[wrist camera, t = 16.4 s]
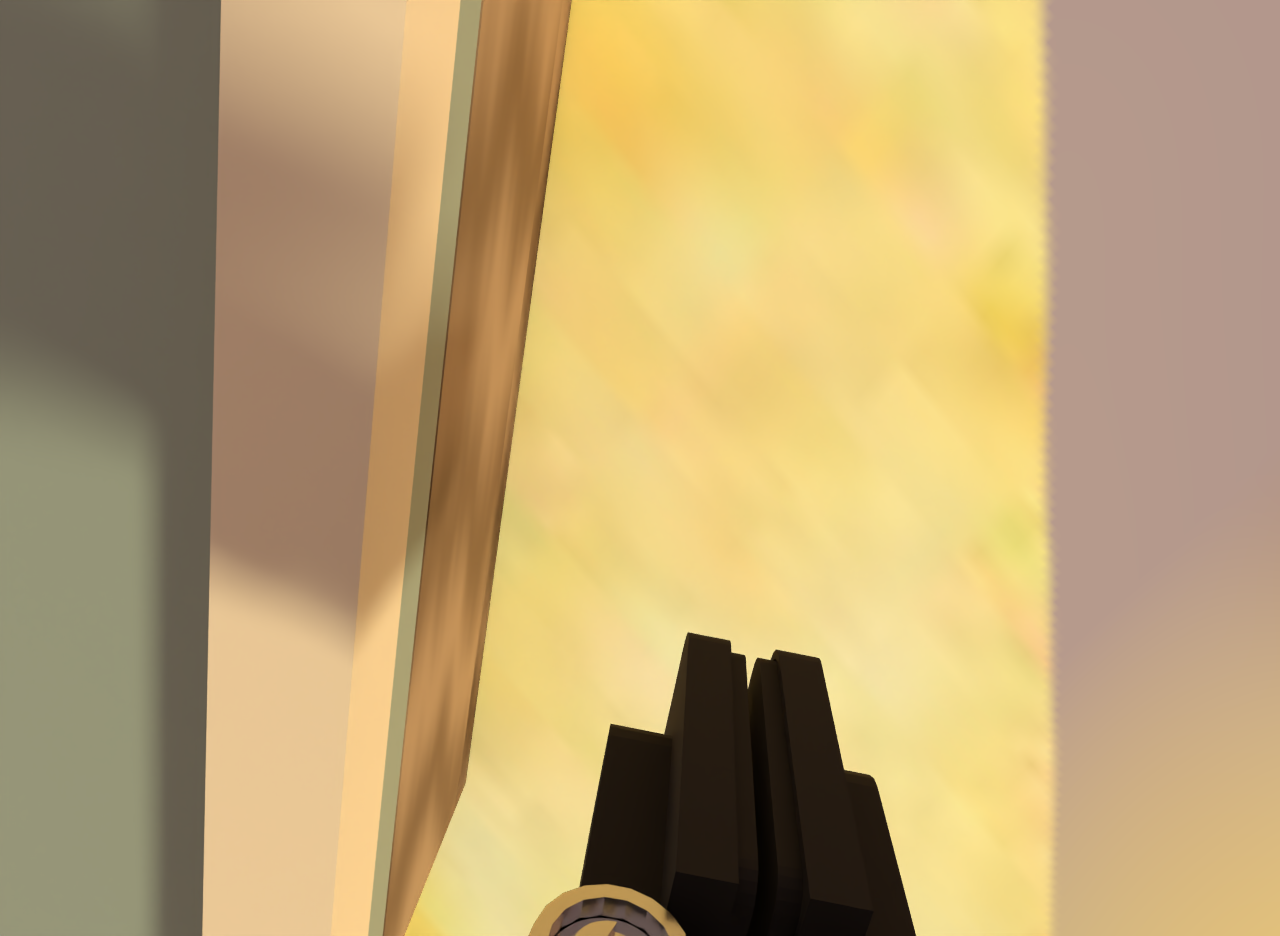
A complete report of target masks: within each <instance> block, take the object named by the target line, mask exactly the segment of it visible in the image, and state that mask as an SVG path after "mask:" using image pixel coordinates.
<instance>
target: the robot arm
mask: <svg viewBox="0 0 1280 936" xmlns="http://www.w3.org/2000/svg"><path fill="white" fill-rule="evenodd" d="M529 936H916V934H915V930H914V926H913V922H912V918H911V914H910V911H909V907H908V903H907V899H906V895H905V891H904V887H903V884H902V880H901V876H900V872H899V868H898V864H897V860H896V857H895V853H894V849H893V845H892V841H891V837H890V833H889V830H888V826H887V822H886V818H885V814H884V810H883V806H882V803H881V799H880V795H879V791H878V787H877V785H876V782H875V780H874V778H873V777H871V776H870V775H867V774H862V773H857V772H852V771H847V770H844V768H843V763H842V758H841V754H840V749H839V744H838V740H837V735H836V730H835V725H834V721H833V716H832V711H831V706H830V702H829V697H828V692H827V688H826V683H825V678H824V673H823V669H822V664H821V661H820V659H819V658H816V657H811V656H806V655H801V654H796V653H791V652H785V651H780V650H775V651H774V653H773V655H772V658H771V660H767V659H762V658H757V659H756V662H755V664H754V668H753V671H752V675H751V679H750V683H749V687H748V688H747V672H746V658H745V655H741V654H736V653H731V642H730V641H729V640H724V639H719V638H714V637H709V636H704V635H699V634H694V633H688V634H687V636H686V640H685V644H684V648H683V652H682V657H681V661H680V666H679V670H678V675H677V679H676V684H675V689H674V693H673V698H672V702H671V707H670V711H669V716H668V720H667V725H666V729H665V734H660V733H655V732H650V731H644V730H639V729H634V728H629V727H624V726H619V725H614V724H611V725H610V730H609V735H608V740H607V745H606V750H605V755H604V760H603V765H602V770H601V776H600V781H599V786H598V791H597V796H596V801H595V807H594V812H593V817H592V822H591V828H590V833H589V838H588V844H587V849H586V854H585V860H584V865H583V870H582V876H581V881H580V887H579V888H576V889H573V890H570V891H567V892H564V893H562V894H561V895H560V896H558V897H557V898H556V899H554V900H553V901H552V902H550V903H549V904H548V905H546V906H545V908H544V909H543V911H542V912H541V914H540V915H539V917H538V918H537V920H536V921H535V923H534V924H533V927H532V929H531V931H530V934H529Z"/></svg>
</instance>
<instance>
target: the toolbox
mask: <svg viewBox="0 0 1280 936" xmlns="http://www.w3.org/2000/svg"><path fill="white" fill-rule="evenodd" d="M570 8H571V0H482V1H481V10H480V20H479V29H478V39H477V48H476V58H475V67H474V77H473V86H472V95H471V105H470V114H469V124H468V133H467V143H466V152H465V162H464V171H463V181H462V190H461V199H460V209H459V218H458V228H457V237H456V247H455V256H454V266H453V275H452V285H451V294H450V304H449V313H448V322H447V332H446V341H445V351H444V360H443V370H442V379H441V389H440V398H439V408H438V417H437V426H436V436H435V445H434V455H433V464H432V474H431V483H430V493H429V502H428V512H427V521H426V530H425V540H424V549H423V559H422V568H421V578H420V587H419V597H418V606H417V616H416V625H415V634H414V644H413V653H412V663H411V672H410V682H409V691H408V701H407V710H406V720H405V729H404V738H403V748H402V757H401V767H400V776H399V786H398V795H397V805H396V814H395V824H394V833H393V842H392V852H391V861H390V871H389V880H388V890H387V899H386V909H385V918H384V928H383V936H404V935H405V932H406V930H407V927H408V925H409V923H410V920H411V918H412V915H413V913H414V910H415V908H416V905H417V903H418V900H419V898H420V895H421V893H422V890H423V888H424V885H425V883H426V880H427V878H428V875H429V873H430V870H431V868H432V865H433V863H434V860H435V858H436V855H437V853H438V850H439V848H440V845H441V843H442V840H443V838H444V835H445V833H446V830H447V828H448V825H449V823H450V820H451V818H452V816H453V813H454V811H455V808H456V806H457V803H458V801H459V798H460V796H461V793H462V791H463V788H464V786H465V783H466V776H467V769H468V761H469V754H470V746H471V739H472V732H473V724H474V717H475V710H476V702H477V695H478V687H479V680H480V673H481V665H482V658H483V650H484V643H485V636H486V628H487V621H488V613H489V606H490V599H491V591H492V584H493V577H494V569H495V562H496V554H497V547H498V540H499V532H500V525H501V517H502V510H503V503H504V495H505V488H506V480H507V473H508V466H509V458H510V451H511V444H512V436H513V429H514V421H515V414H516V407H517V399H518V392H519V384H520V377H521V370H522V362H523V355H524V347H525V340H526V333H527V325H528V318H529V311H530V303H531V296H532V288H533V281H534V274H535V266H536V259H537V251H538V244H539V237H540V229H541V222H542V214H543V207H544V200H545V192H546V185H547V178H548V170H549V163H550V155H551V148H552V141H553V133H554V126H555V118H556V111H557V104H558V96H559V89H560V81H561V74H562V67H563V59H564V52H565V45H566V37H567V30H568V22H569V15H570Z"/></svg>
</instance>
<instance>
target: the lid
mask: <svg viewBox="0 0 1280 936" xmlns="http://www.w3.org/2000/svg"><path fill="white" fill-rule="evenodd" d="M481 1H482V0H0V936H383V928H384V918H385V909H386V899H387V890H388V880H389V871H390V861H391V852H392V842H393V833H394V824H395V814H396V805H397V795H398V786H399V776H400V767H401V757H402V748H403V738H404V729H405V720H406V710H407V701H408V691H409V682H410V672H411V663H412V653H413V644H414V634H415V625H416V616H417V606H418V597H419V587H420V578H421V568H422V559H423V549H424V540H425V530H426V521H427V512H428V502H429V493H430V483H431V474H432V464H433V455H434V445H435V436H436V426H437V417H438V408H439V398H440V389H441V379H442V370H443V360H444V351H445V341H446V332H447V322H448V313H449V304H450V294H451V285H452V275H453V266H454V256H455V247H456V237H457V228H458V218H459V209H460V199H461V190H462V181H463V171H464V162H465V152H466V143H467V133H468V124H469V114H470V105H471V95H472V86H473V77H474V67H475V58H476V48H477V39H478V29H479V20H480V10H481Z"/></svg>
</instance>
